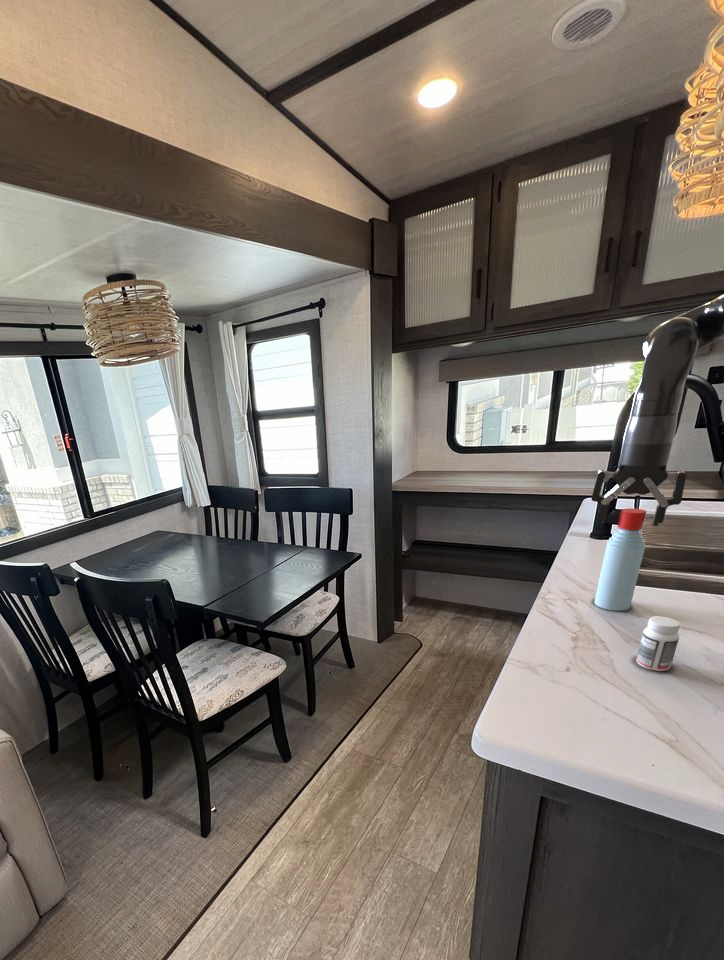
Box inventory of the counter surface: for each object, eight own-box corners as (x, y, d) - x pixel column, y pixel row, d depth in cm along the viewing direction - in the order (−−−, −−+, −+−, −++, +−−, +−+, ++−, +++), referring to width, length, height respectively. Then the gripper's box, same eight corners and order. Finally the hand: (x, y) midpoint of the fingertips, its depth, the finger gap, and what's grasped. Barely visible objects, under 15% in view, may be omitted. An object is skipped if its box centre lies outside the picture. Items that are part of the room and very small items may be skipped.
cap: (617, 529, 94) (620, 512, 93) (617, 524, 97) (620, 507, 96) (642, 530, 92) (646, 513, 91) (641, 525, 95) (645, 508, 94)
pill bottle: (668, 660, 81) (681, 617, 78) (672, 674, 78) (685, 629, 74) (634, 655, 84) (645, 613, 80) (636, 668, 80) (648, 624, 77)
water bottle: (629, 601, 102) (652, 510, 94) (630, 612, 98) (654, 518, 90) (594, 596, 106) (613, 509, 98) (594, 607, 101) (613, 516, 93)
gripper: (602, 443, 89) (586, 525, 96) (699, 441, 82) (675, 531, 88) (602, 438, 95) (587, 516, 101) (694, 436, 87) (671, 521, 94)
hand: (628, 523), depth 95 cm, fingers open, 8 cm apart
